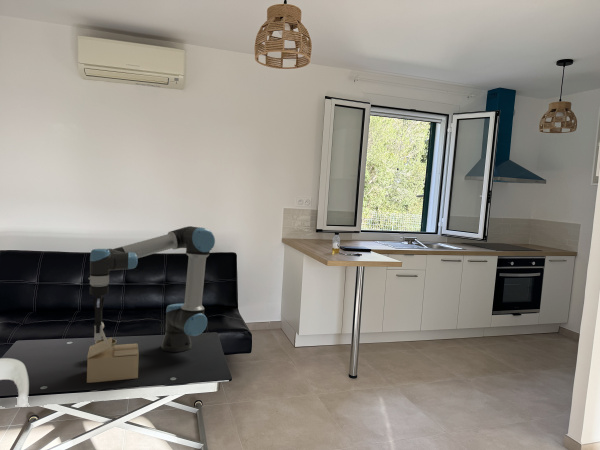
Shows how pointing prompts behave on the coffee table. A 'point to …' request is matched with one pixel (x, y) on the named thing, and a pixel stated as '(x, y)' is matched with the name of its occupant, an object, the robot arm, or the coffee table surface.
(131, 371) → the carton
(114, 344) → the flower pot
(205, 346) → the coffee table surface
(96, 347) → the flap
